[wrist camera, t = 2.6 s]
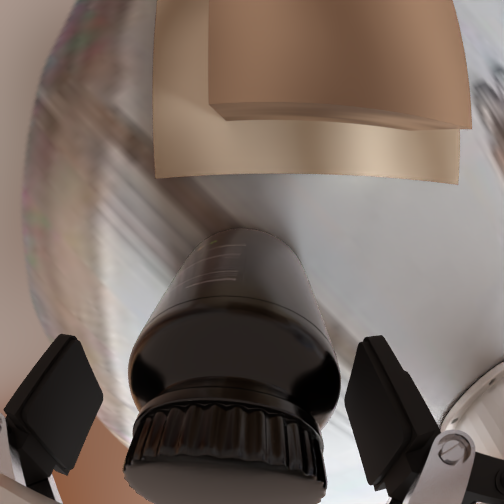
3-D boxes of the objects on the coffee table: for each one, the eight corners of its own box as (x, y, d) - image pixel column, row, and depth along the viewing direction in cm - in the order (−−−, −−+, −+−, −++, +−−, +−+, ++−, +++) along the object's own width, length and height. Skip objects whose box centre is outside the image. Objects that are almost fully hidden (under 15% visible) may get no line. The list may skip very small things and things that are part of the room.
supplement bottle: (326, 299, 16) (398, 495, 5) (228, 351, 18) (206, 536, 6) (262, 197, 14) (280, 370, 3) (158, 266, 16) (37, 443, 4)
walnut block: (392, -14, 9) (432, -54, 4) (409, 130, 12) (471, 129, 7) (225, -31, 9) (213, -87, 4) (226, 121, 12) (208, 104, 8)
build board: (426, -19, 9) (433, -25, 8) (448, 182, 14) (458, 184, 13) (168, -41, 9) (163, -49, 8) (161, 176, 14) (155, 178, 13)
